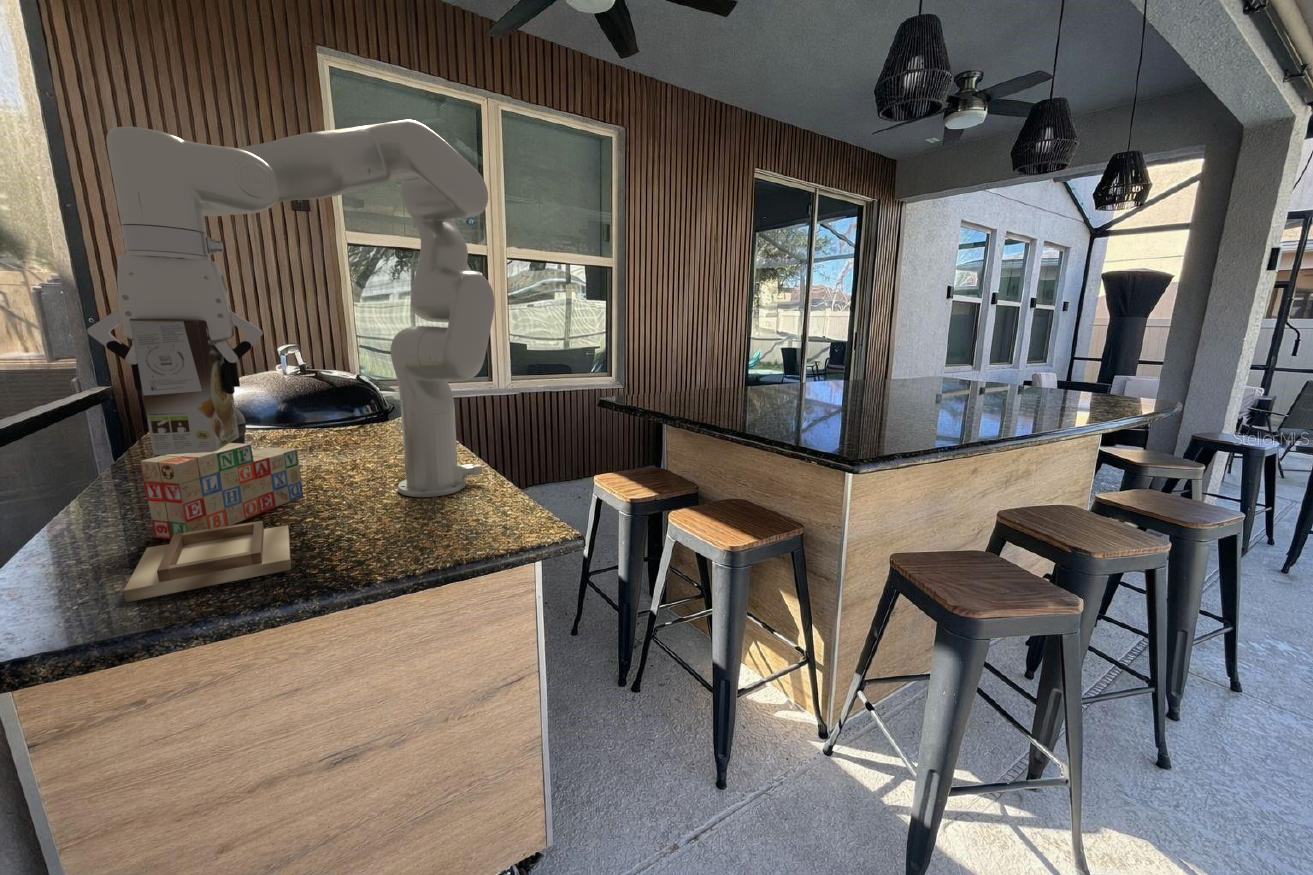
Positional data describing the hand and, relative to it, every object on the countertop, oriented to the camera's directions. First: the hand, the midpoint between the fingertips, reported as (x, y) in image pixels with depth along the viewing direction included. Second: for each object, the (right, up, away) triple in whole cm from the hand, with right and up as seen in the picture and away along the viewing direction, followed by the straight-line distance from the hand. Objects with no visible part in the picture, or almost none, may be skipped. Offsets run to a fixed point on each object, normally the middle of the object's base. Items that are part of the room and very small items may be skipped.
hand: (191, 393), depth 67 cm
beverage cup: (-27, -15, +40) cm, 50 cm away
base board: (-1, -23, +5) cm, 23 cm away
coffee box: (0, -7, +1) cm, 7 cm away
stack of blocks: (-12, -19, +22) cm, 32 cm away
